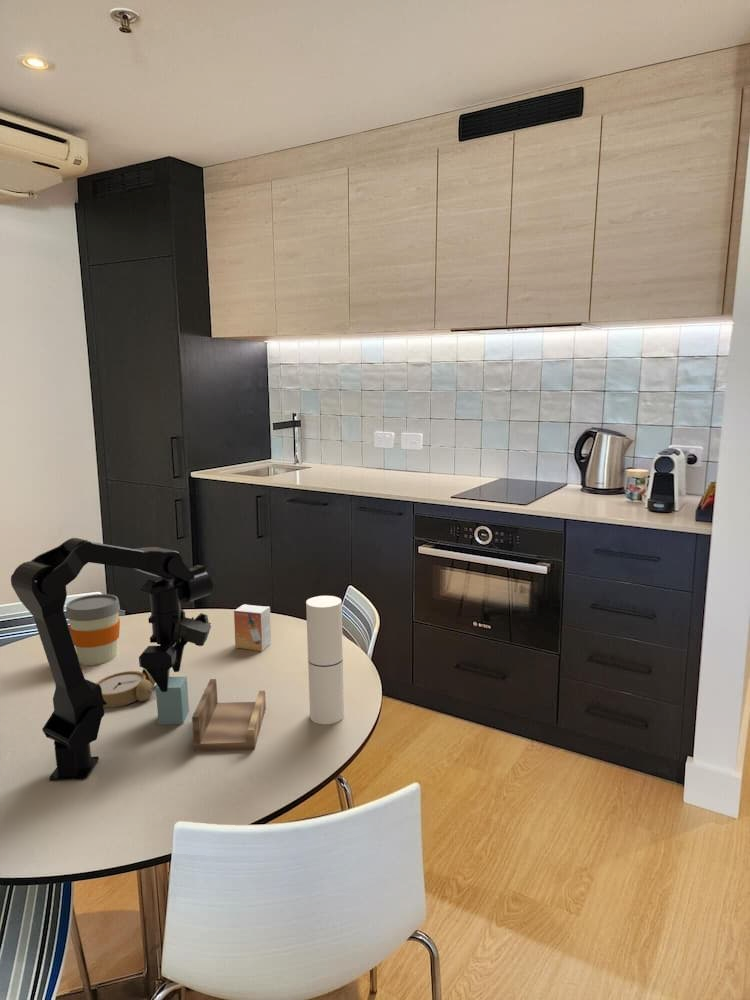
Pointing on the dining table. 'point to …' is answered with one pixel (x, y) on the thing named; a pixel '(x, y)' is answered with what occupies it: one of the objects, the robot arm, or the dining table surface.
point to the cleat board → (226, 722)
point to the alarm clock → (126, 687)
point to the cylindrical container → (325, 659)
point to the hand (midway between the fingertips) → (170, 681)
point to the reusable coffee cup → (94, 627)
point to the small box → (252, 627)
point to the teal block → (173, 702)
